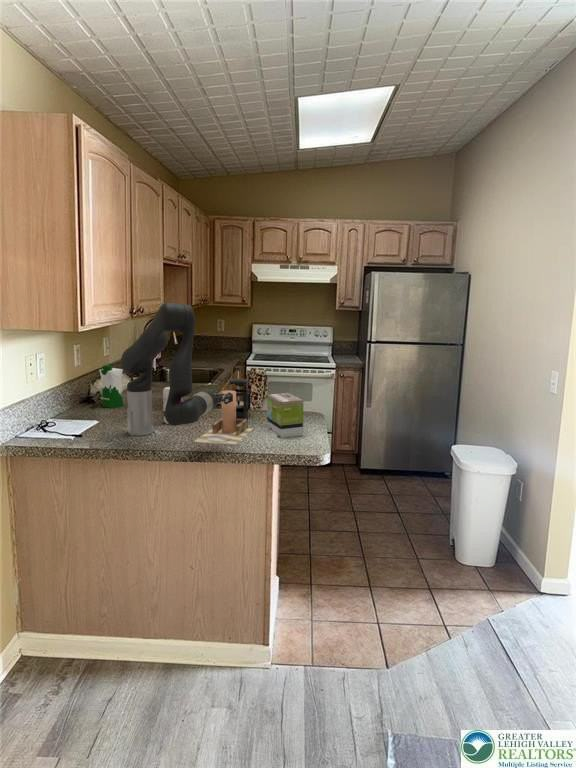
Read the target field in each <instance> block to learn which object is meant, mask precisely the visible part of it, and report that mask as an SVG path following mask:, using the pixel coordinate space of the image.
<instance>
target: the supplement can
mask: <svg viewBox="0 0 576 768" xmlns="http://www.w3.org/2000/svg"><path fill="white" fill-rule="evenodd" d="M169 390H170V386H167V387H164V388H163V390H162V405H163V409H162V410H163V411H162V412H163V413H162V414H163V423H165V424H166V425H170V424H169V423H168V422H167V421H166V418H165V407H166V403H167V399H168V395H169ZM180 402H184V397H182V398H181V401H180Z"/></svg>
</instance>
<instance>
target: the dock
mask: <svg viewBox="0 0 576 768" xmlns="http://www.w3.org/2000/svg"><path fill="white" fill-rule="evenodd" d="M248 419H249V418H248ZM248 419H236V432H235V433H223V432H222V417H221V418H220V419H219V420H217V421H215V422H214V423H213V424H212V426H211V429H210V430H208V431H206V432H205V433H204V434H202V435H201V436H199V437H198V438H196V439H195V440H194V441H193V443H200V444H201V443H203V444H204V443H205V444H213V445H214V444H215V445H229V446H236V445H237V444H238V443H239V442H240V441H241V440H242V439H243V438H245V437H246V436H247V435H249V433H250V432H252V430H254V429H255V427H249V420H248Z"/></svg>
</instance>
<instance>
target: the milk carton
mask: <svg viewBox="0 0 576 768" xmlns="http://www.w3.org/2000/svg"><path fill="white" fill-rule="evenodd" d="M112 366H113V365H110V364H104V365H102V369H99V375H100V380H101V397H102V398H101V399H102V400H101V401H102V402H101V407H102V408H108V409H114V408H120V407H124V400H123V398H124V397H123V380H122V376H123V372H124V370H123V369H122V368H115V367H112Z"/></svg>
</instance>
